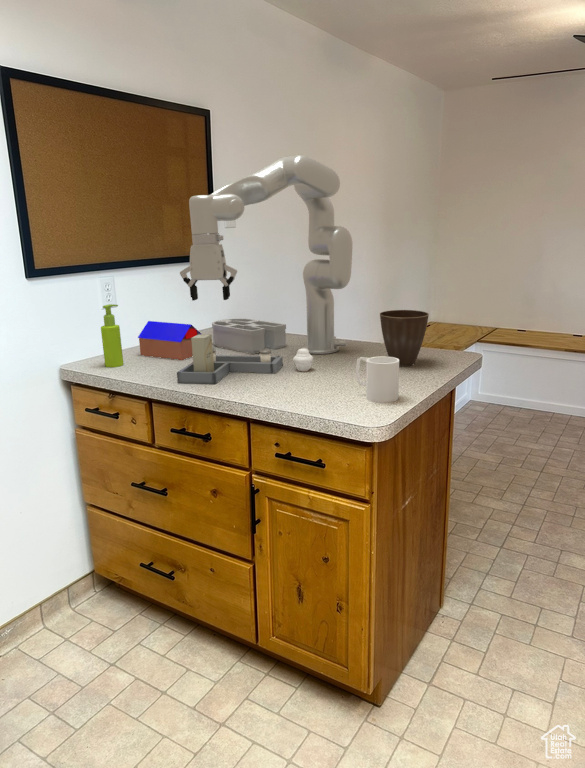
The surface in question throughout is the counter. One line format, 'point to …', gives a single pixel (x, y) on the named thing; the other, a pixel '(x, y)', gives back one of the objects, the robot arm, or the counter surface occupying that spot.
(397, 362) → the cup
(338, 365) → the counter surface
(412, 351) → the plant pot
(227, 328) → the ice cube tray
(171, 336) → the house
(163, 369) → the counter surface
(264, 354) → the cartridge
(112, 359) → the soap dispenser
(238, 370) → the grey rectangular frame
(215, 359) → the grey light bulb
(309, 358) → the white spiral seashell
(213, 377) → the tray
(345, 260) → the robot arm
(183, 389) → the counter surface
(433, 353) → the counter surface
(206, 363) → the skincare box
